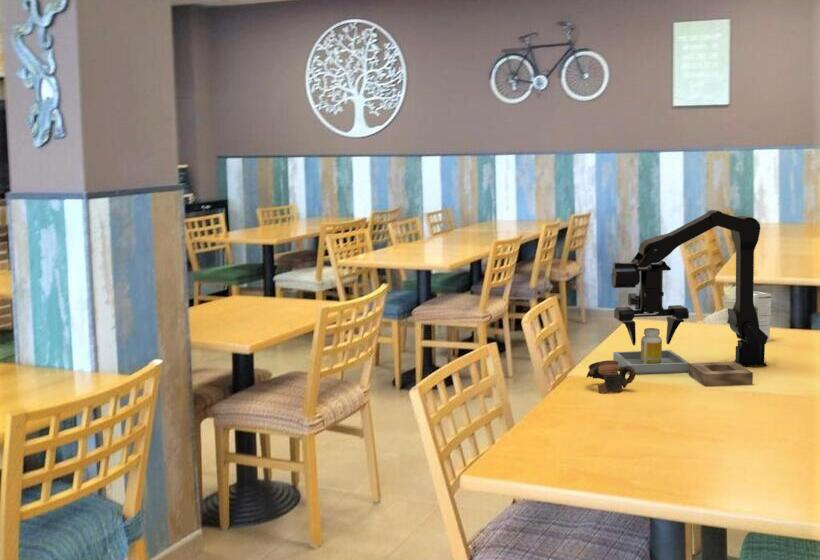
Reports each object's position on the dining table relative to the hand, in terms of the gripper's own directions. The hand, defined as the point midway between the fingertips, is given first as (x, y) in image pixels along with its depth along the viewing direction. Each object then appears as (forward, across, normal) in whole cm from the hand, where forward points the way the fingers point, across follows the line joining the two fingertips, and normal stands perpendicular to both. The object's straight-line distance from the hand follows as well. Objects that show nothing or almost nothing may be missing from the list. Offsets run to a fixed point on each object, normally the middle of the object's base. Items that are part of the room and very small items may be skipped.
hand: (650, 344), depth 261 cm
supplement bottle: (+6, 0, 0) cm, 6 cm away
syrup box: (+6, -40, -27) cm, 49 cm away
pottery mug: (+6, +16, +21) cm, 27 cm away
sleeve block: (+6, -13, +16) cm, 21 cm away
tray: (+6, 0, 0) cm, 6 cm away
